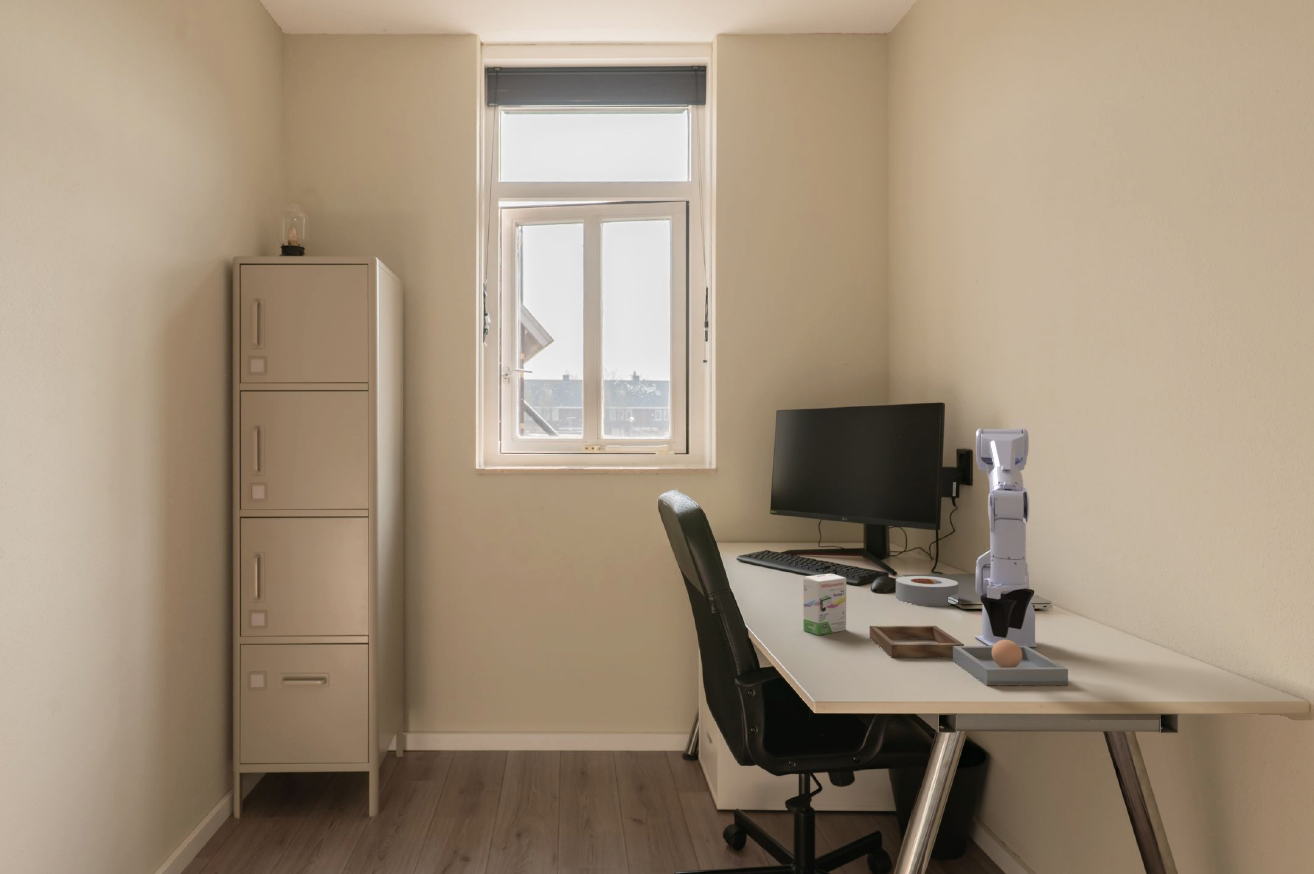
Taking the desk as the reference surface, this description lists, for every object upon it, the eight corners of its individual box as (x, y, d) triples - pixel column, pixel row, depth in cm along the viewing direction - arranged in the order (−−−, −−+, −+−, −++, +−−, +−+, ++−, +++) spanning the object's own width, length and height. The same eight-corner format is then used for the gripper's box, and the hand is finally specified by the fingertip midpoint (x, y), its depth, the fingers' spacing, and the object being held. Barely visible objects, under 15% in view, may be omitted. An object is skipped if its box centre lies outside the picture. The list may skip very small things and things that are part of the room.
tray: (1026, 660, 142) (1026, 645, 142) (1067, 685, 128) (1068, 669, 128) (952, 660, 142) (952, 645, 142) (986, 685, 128) (986, 669, 128)
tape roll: (886, 594, 200) (886, 575, 200) (940, 593, 202) (940, 574, 202) (911, 608, 185) (911, 587, 185) (970, 606, 187) (970, 586, 187)
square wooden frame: (935, 637, 158) (935, 625, 158) (964, 657, 144) (964, 644, 144) (869, 637, 157) (869, 625, 157) (891, 657, 143) (891, 644, 143)
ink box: (818, 635, 159) (818, 580, 159) (802, 630, 163) (802, 576, 163) (847, 630, 163) (847, 576, 163) (831, 625, 168) (831, 572, 168)
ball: (1014, 663, 137) (1014, 636, 137) (1027, 672, 132) (1027, 644, 132) (986, 663, 137) (987, 636, 137) (998, 672, 132) (998, 643, 132)
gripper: (999, 549, 143) (999, 620, 143) (969, 559, 132) (969, 635, 132) (1039, 553, 138) (1039, 627, 138) (1011, 564, 127) (1011, 643, 127)
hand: (1007, 632), depth 135 cm, fingers open, 7 cm apart
